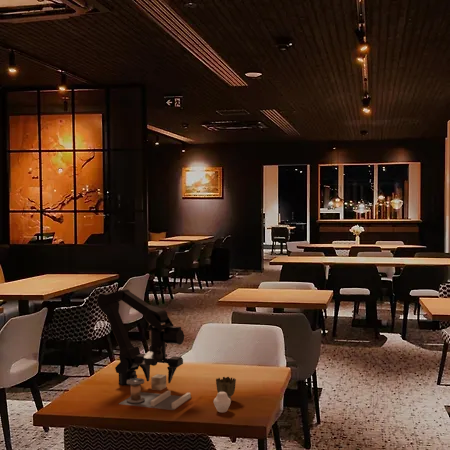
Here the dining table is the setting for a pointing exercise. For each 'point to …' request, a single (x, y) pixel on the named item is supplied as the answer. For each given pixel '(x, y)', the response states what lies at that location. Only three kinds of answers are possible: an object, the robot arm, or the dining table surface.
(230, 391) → the cup
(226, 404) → the muffin
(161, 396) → the board
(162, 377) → the block
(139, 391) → the bobbin
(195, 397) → the dining table surface
